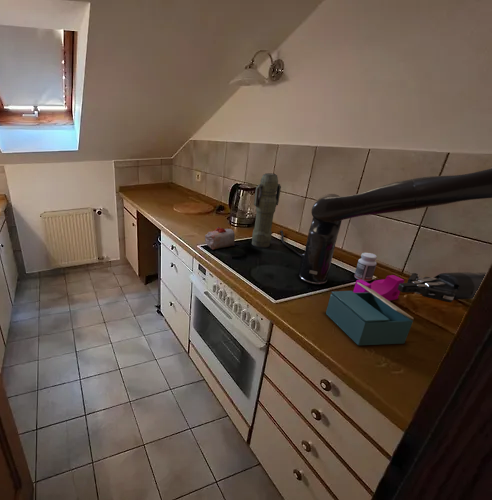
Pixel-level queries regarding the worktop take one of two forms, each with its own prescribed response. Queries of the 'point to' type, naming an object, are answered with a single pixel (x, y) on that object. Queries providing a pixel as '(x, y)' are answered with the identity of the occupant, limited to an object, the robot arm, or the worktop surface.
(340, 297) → the box
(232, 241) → the food item
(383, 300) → the lid
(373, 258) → the pill bottle
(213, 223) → the worktop surface
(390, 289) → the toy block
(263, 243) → the thermos
